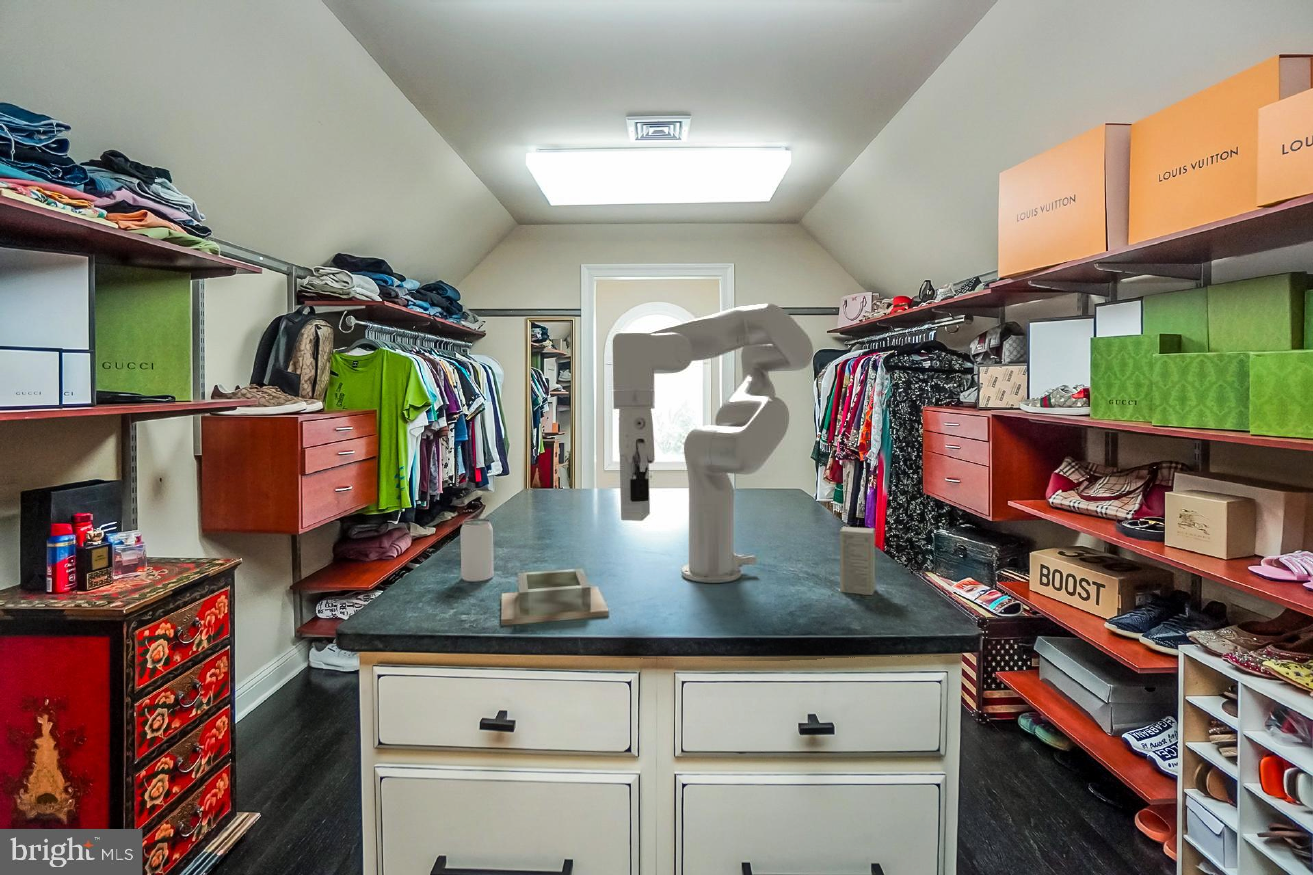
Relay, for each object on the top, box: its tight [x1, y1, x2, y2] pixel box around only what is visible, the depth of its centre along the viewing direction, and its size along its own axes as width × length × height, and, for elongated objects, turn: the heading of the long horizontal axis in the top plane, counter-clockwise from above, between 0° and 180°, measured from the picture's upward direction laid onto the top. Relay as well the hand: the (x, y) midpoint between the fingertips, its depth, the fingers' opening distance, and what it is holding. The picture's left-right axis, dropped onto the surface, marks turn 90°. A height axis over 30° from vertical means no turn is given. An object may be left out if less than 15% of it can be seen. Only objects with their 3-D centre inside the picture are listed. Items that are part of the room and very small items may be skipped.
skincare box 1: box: [619, 454, 651, 522], centre depth 114 cm, size 6×4×12 cm
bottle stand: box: [500, 568, 610, 626], centre depth 111 cm, size 18×14×5 cm
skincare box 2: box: [839, 526, 876, 596], centre depth 120 cm, size 6×4×12 cm
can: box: [460, 518, 495, 583], centre depth 129 cm, size 6×6×12 cm
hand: (635, 496), depth 114 cm, fingers closed on skincare box 1, 7 cm apart
